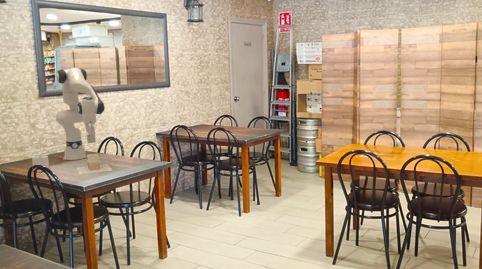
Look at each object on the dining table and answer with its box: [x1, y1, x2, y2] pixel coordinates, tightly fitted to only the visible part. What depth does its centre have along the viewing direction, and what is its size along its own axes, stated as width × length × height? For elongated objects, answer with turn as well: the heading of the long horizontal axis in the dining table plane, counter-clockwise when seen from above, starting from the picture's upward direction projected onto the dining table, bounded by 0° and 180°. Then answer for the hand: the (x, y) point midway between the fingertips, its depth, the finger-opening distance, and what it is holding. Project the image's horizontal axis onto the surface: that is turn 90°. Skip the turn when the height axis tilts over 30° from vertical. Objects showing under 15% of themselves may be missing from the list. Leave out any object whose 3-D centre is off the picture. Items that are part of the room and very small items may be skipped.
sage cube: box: [86, 134, 97, 144], centre depth 333 cm, size 5×5×5 cm
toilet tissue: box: [31, 154, 50, 173], centre depth 338 cm, size 11×12×10 cm
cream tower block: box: [86, 153, 100, 164], centre depth 335 cm, size 7×7×5 cm
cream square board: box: [75, 163, 113, 175], centre depth 336 cm, size 24×22×1 cm
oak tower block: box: [87, 161, 100, 170], centre depth 336 cm, size 7×7×5 cm
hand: (91, 140), depth 333 cm, fingers closed on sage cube, 5 cm apart
